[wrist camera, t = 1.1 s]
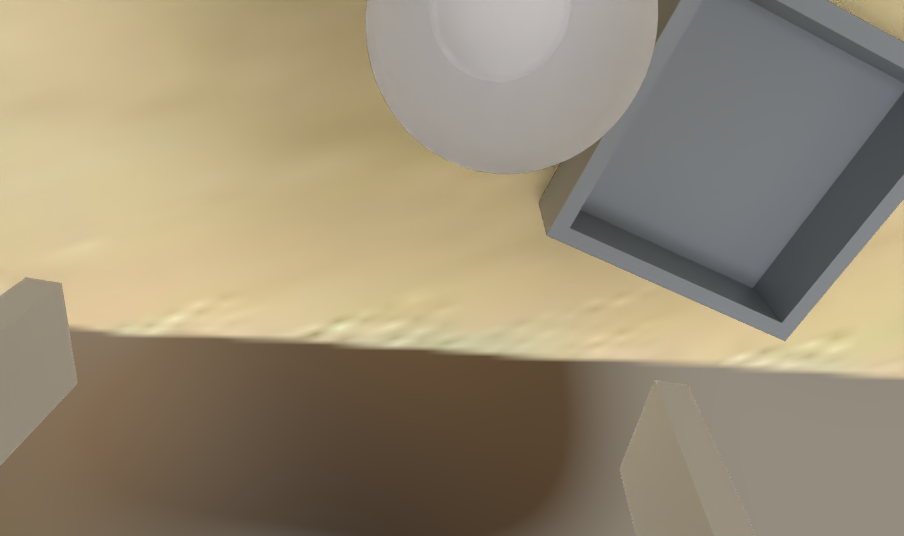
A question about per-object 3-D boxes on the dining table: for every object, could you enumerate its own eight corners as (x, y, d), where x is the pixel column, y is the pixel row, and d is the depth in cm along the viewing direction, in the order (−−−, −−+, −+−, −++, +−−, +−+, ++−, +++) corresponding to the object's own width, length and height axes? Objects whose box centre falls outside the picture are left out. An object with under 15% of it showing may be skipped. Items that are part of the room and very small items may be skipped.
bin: (680, -57, 28) (715, -61, 24) (923, 74, 30) (993, 91, 26) (538, 202, 33) (546, 235, 29) (750, 298, 35) (785, 341, 31)
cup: (604, -105, 27) (686, -152, 16) (587, 105, 31) (644, 179, 20) (399, -100, 27) (345, -143, 17) (408, 106, 31) (370, 179, 21)
